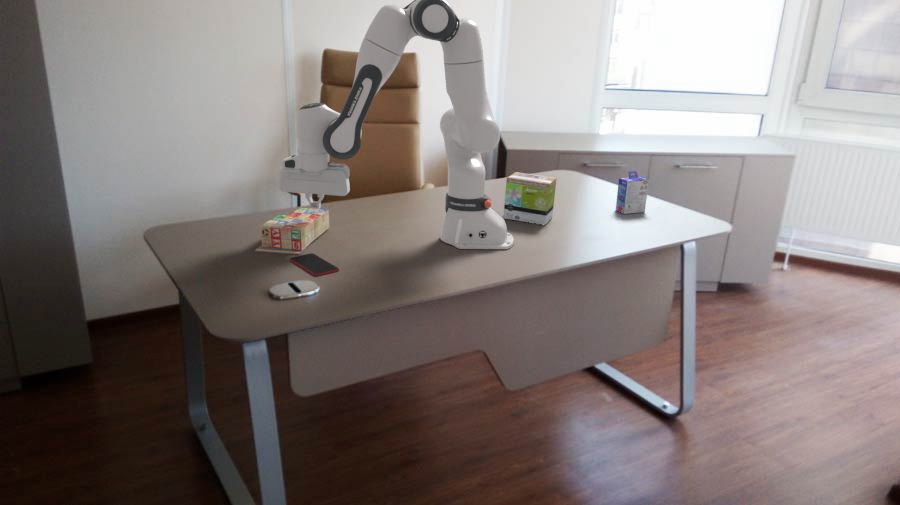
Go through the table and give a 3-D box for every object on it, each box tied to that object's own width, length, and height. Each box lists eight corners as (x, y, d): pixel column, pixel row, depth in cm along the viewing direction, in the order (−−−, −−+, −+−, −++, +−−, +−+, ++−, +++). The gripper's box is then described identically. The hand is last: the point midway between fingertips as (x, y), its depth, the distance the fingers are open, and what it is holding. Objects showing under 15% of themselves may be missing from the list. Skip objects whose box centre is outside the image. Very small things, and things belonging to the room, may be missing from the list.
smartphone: (312, 252, 182) (340, 269, 171) (312, 255, 182) (340, 272, 172) (288, 258, 178) (315, 274, 167) (288, 261, 178) (315, 278, 167)
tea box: (502, 219, 220) (505, 177, 215) (511, 212, 229) (514, 171, 224) (545, 226, 215) (549, 182, 210) (553, 218, 224) (557, 176, 219)
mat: (325, 227, 205) (325, 226, 204) (299, 255, 181) (299, 253, 181) (285, 224, 206) (284, 223, 206) (254, 251, 182) (254, 250, 182)
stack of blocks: (330, 228, 203) (293, 224, 205) (329, 208, 201) (292, 205, 203) (301, 251, 183) (261, 246, 186) (300, 230, 181) (259, 226, 183)
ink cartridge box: (635, 208, 240) (641, 169, 235) (645, 212, 235) (651, 173, 230) (614, 210, 236) (619, 171, 231) (623, 214, 232) (629, 174, 226)
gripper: (352, 161, 187) (352, 207, 191) (283, 156, 188) (285, 202, 193) (346, 166, 181) (347, 213, 186) (275, 161, 182) (277, 208, 187)
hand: (315, 208), depth 189 cm, fingers closed
